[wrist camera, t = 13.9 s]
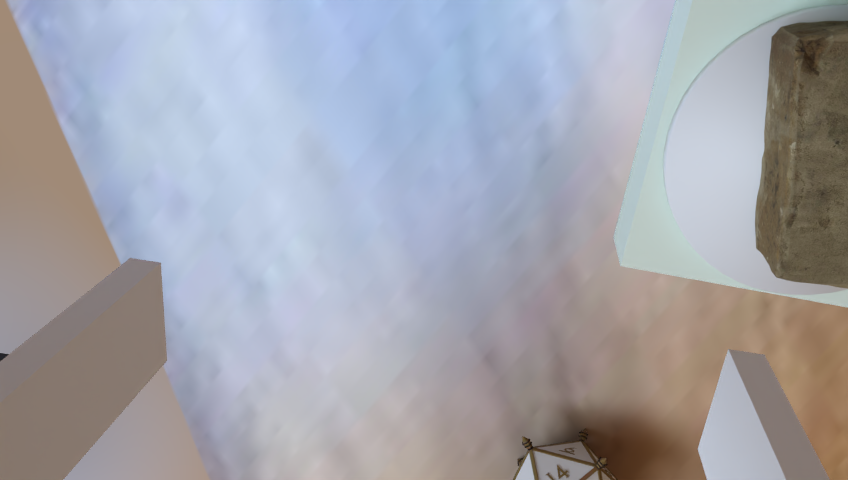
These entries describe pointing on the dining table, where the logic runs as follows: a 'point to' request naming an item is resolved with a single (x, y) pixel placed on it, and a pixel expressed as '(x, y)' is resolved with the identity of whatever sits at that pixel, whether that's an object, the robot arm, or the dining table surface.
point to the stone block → (806, 156)
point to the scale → (711, 148)
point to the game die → (562, 462)
